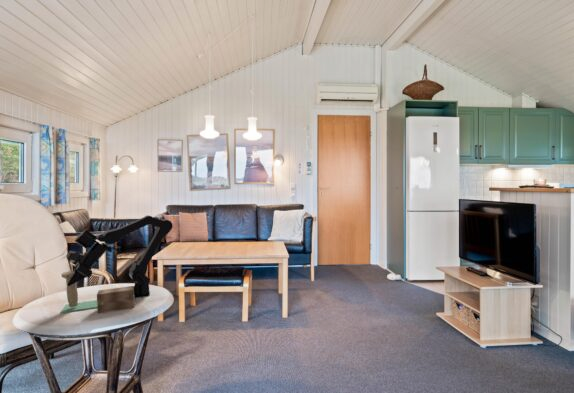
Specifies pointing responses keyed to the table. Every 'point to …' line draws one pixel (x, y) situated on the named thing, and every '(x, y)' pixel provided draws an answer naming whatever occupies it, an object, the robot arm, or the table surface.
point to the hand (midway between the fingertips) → (67, 284)
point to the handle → (71, 289)
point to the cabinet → (115, 299)
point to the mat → (80, 306)
